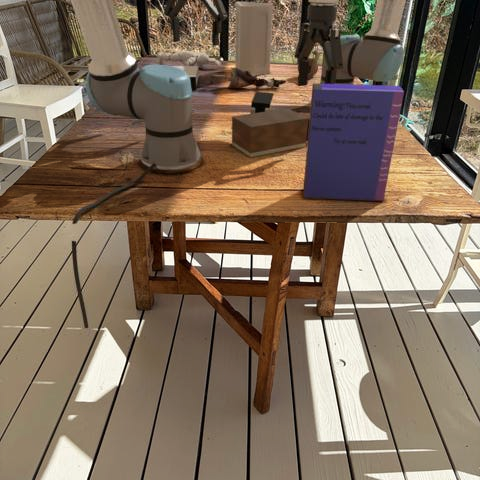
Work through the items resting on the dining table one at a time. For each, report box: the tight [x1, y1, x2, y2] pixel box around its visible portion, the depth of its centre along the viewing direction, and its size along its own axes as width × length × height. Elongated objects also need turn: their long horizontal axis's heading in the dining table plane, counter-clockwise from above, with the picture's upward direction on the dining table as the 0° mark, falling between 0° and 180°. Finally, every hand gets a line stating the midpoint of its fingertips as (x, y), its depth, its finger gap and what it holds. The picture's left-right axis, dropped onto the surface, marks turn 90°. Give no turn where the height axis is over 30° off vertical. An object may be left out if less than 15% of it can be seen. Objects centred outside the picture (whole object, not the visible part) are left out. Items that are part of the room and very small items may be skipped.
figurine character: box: [249, 91, 274, 114], centre depth 154 cm, size 7×8×15 cm
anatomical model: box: [297, 50, 321, 82], centre depth 207 cm, size 13×9×15 cm
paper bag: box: [234, 1, 274, 77], centre depth 210 cm, size 19×15×28 cm
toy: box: [155, 50, 222, 69], centre depth 224 cm, size 24×25×7 cm
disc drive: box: [172, 65, 200, 91], centre depth 196 cm, size 18×22×5 cm
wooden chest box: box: [231, 108, 308, 158], centre depth 133 cm, size 18×11×8 cm, turn 119°
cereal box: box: [302, 83, 405, 202], centre depth 102 cm, size 17×5×24 cm, turn 86°
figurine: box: [209, 66, 287, 89], centre depth 190 cm, size 24×8×30 cm
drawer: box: [293, 110, 310, 142], centre depth 136 cm, size 23×9×6 cm, turn 119°
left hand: (195, 43), depth 144 cm, fingers open, 13 cm apart
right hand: (314, 90), depth 134 cm, fingers open, 11 cm apart
